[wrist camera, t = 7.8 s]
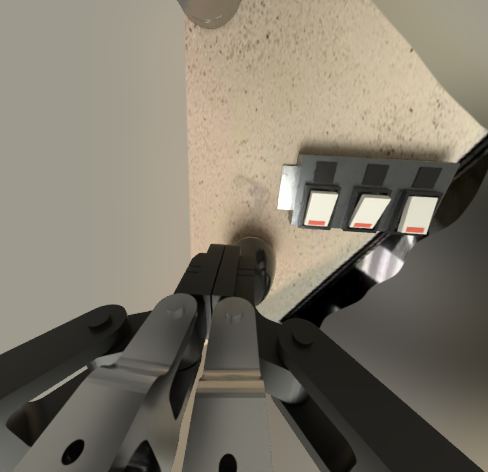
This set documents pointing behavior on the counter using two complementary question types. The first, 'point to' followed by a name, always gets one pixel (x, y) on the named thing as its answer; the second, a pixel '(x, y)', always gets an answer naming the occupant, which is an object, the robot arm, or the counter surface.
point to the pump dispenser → (260, 265)
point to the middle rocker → (368, 210)
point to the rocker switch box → (361, 187)
